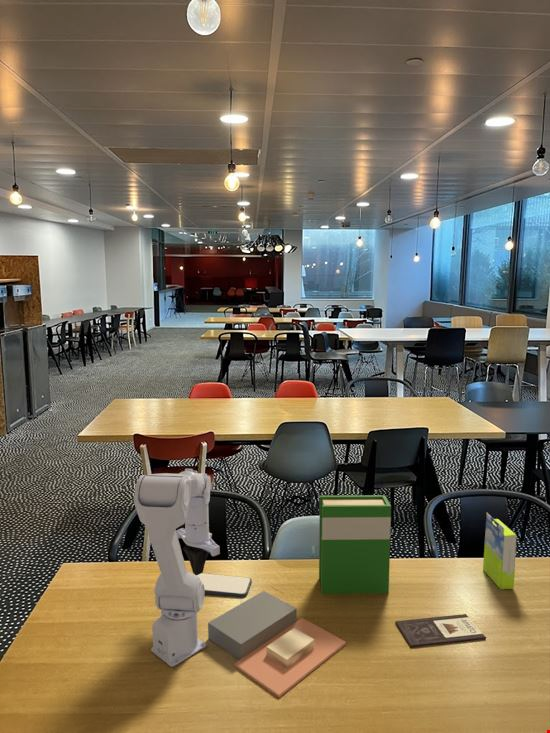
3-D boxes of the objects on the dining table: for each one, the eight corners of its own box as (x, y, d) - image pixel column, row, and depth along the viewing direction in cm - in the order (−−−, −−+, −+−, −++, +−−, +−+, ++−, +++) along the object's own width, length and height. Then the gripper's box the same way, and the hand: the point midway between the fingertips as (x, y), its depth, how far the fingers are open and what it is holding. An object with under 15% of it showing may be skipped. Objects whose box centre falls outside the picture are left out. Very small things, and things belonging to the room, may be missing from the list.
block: (241, 661, 114) (241, 644, 114) (208, 638, 122) (208, 622, 121) (296, 623, 127) (296, 608, 127) (263, 605, 135) (263, 590, 134)
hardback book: (321, 593, 140) (322, 506, 137) (318, 578, 148) (319, 495, 144) (388, 593, 140) (391, 506, 137) (382, 578, 148) (384, 495, 144)
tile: (266, 646, 115) (266, 655, 116) (286, 659, 111) (286, 668, 111) (294, 627, 122) (294, 635, 122) (314, 639, 118) (314, 647, 118)
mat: (279, 697, 104) (279, 694, 104) (234, 666, 113) (234, 663, 113) (346, 644, 120) (346, 641, 120) (302, 620, 129) (302, 617, 129)
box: (514, 589, 142) (518, 527, 140) (499, 590, 142) (503, 528, 139) (495, 569, 152) (498, 511, 150) (481, 569, 152) (484, 511, 150)
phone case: (252, 582, 147) (196, 577, 149) (252, 577, 147) (196, 571, 149) (246, 600, 138) (186, 594, 141) (246, 595, 138) (186, 589, 140)
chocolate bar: (395, 621, 128) (465, 614, 130) (395, 624, 128) (465, 617, 130) (410, 645, 119) (485, 637, 122) (410, 649, 119) (485, 641, 122)
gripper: (228, 524, 129) (229, 577, 130) (191, 508, 138) (192, 557, 140) (206, 534, 124) (207, 588, 125) (169, 516, 133) (170, 567, 135)
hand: (198, 573), depth 133 cm, fingers closed
